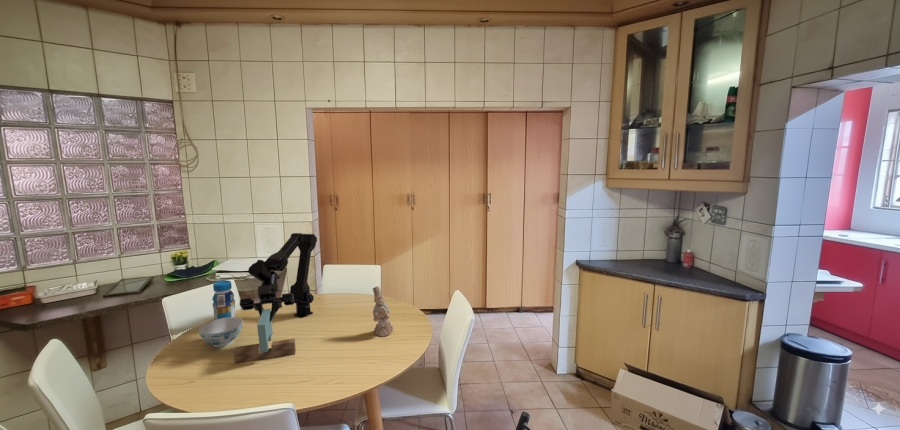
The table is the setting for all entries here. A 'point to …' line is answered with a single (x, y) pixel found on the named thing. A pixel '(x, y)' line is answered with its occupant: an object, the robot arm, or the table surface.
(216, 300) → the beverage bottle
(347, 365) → the table surface
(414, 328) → the table surface
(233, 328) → the chinaware
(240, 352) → the walnut slotted rail
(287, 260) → the robot arm
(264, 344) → the teal slotted plate
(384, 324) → the figurine
